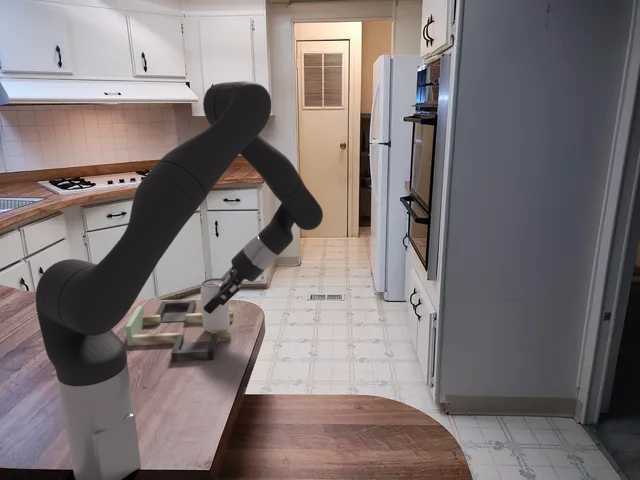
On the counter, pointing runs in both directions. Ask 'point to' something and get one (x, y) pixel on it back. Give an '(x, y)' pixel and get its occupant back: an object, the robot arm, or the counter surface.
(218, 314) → the can
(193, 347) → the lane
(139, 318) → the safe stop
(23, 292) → the counter surface
